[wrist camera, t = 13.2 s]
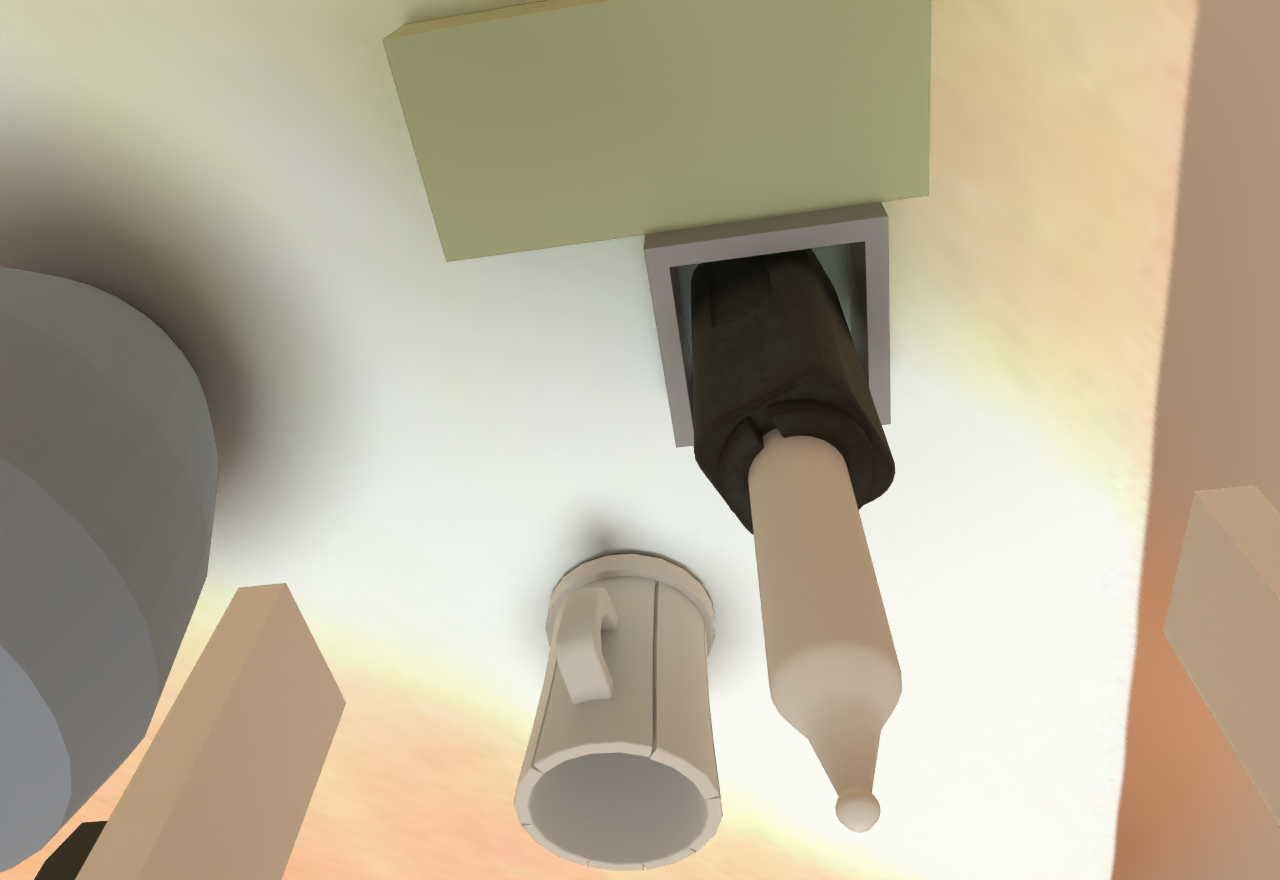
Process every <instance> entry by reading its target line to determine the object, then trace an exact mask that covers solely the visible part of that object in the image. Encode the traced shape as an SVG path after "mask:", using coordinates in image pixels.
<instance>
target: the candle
mask: <svg viewBox="0 0 1280 880" xmlns="http://www.w3.org/2000/svg"><path fill="white" fill-rule="evenodd" d="M691 315H692V369H693V423H694V454H695V459H696V461H697V463H698V465H699V467H700V469H701V470H702V471H703V473H704V474H705V475H706V477H707V478H708V479H709V480H710V482H711V483H712V484H713V486H714V487H715V488H716V490H717V491H718V492H719V494H720V495H721V496H722V498H723V499H724V500H725V501H726V503H727V504H728V505H729V507H730V509H731V510H732V511H733V512H734V513H735V515H736V516H737V517H738V519H739V520H740V521H741V523H742V524H743V525H744V526H745V528H746V529H747V530H748V531H749V532H750V533H751V534H753V535H754V541H755V551H756V561H757V570H758V580H759V590H760V599H761V609H762V619H763V629H764V638H765V648H766V658H767V668H768V677H769V687H770V692H771V698H772V700H773V703H774V705H775V706H776V708H777V710H778V711H779V713H780V715H782V716H783V717H784V718H785V719H786V720H787V721H788V722H789V723H790V724H791V725H792V726H793V727H794V728H795V729H797V730H798V731H799V732H800V733H801V734H803V735H804V736H805V737H806V738H808V740H809V741H810V743H811V745H812V747H813V749H814V751H815V753H816V755H817V756H818V758H819V760H820V762H821V764H822V766H823V768H824V770H825V772H826V773H827V775H828V777H829V779H830V781H831V783H832V785H833V787H834V788H835V790H836V792H837V794H838V796H839V798H838V800H837V803H836V815H837V817H838V819H839V820H840V822H841V823H842V824H843V825H845V826H846V827H847V828H849V829H850V830H852V831H855V832H865V831H868V830H869V829H871V828H872V827H873V826H874V825H875V823H876V822H877V820H878V819H879V816H880V805H879V803H878V801H877V799H876V798H875V796H874V795H873V794H872V787H873V780H874V773H875V766H876V760H877V753H878V746H879V739H880V733H881V729H882V728H883V726H884V724H885V723H886V721H887V720H888V718H889V717H890V715H891V714H892V712H893V710H894V708H895V707H896V705H897V703H898V700H899V697H900V694H901V691H902V680H901V670H900V667H899V663H898V659H897V655H896V651H895V648H894V644H893V640H892V636H891V632H890V629H889V625H888V621H887V617H886V613H885V610H884V606H883V602H882V598H881V594H880V591H879V587H878V583H877V579H876V575H875V572H874V568H873V564H872V560H871V556H870V553H869V549H868V545H867V541H866V537H865V534H864V530H863V526H862V522H861V518H860V515H859V511H858V510H859V509H860V508H861V507H862V506H863V505H865V504H867V503H869V502H871V501H873V500H875V499H876V498H878V497H880V496H881V495H882V494H883V493H885V492H886V491H887V490H888V488H889V487H890V485H891V483H892V482H893V479H894V475H895V463H894V460H893V457H892V454H891V451H890V448H889V446H888V443H887V440H886V437H885V434H884V431H883V428H882V425H881V422H880V419H879V416H878V413H877V410H876V407H875V405H874V402H873V399H872V396H871V393H870V390H869V387H868V384H867V381H866V378H865V375H864V372H863V369H862V367H861V364H860V361H859V358H858V355H857V352H856V349H855V346H854V343H853V340H852V337H851V334H850V331H849V328H848V326H847V323H846V320H845V317H844V314H843V311H842V308H841V305H840V302H839V299H838V296H837V293H836V291H835V288H834V286H833V285H832V283H831V281H830V280H829V278H828V276H827V275H826V273H825V271H824V270H823V268H822V266H821V264H820V263H819V261H818V259H817V258H816V256H815V254H814V253H813V251H812V249H811V248H810V249H802V250H795V251H787V252H780V253H772V254H765V255H757V256H750V257H742V258H735V259H727V260H720V261H712V262H705V263H701V264H700V265H699V266H698V267H697V268H696V270H695V271H694V273H693V276H692V279H691Z"/></svg>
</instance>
